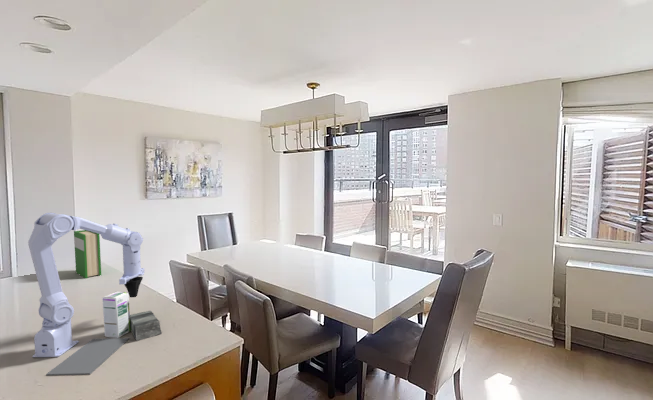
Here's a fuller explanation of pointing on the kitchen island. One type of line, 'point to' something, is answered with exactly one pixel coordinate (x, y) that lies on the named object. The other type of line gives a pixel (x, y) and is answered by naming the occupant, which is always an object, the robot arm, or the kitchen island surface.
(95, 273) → the hardback book
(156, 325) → the stone block
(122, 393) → the kitchen island surface
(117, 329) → the syrup box
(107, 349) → the mat
